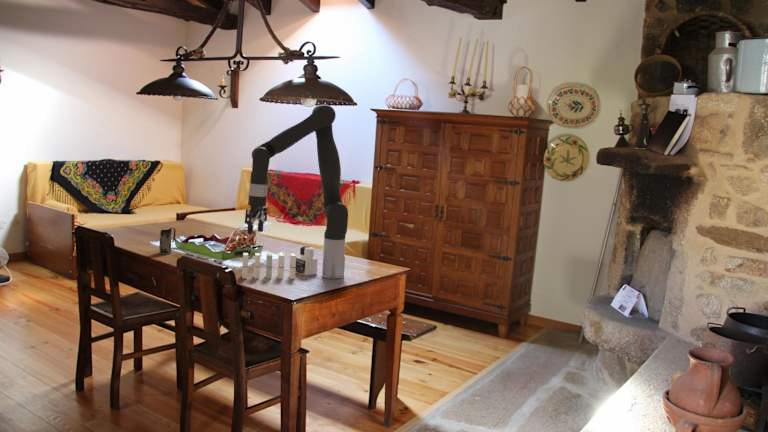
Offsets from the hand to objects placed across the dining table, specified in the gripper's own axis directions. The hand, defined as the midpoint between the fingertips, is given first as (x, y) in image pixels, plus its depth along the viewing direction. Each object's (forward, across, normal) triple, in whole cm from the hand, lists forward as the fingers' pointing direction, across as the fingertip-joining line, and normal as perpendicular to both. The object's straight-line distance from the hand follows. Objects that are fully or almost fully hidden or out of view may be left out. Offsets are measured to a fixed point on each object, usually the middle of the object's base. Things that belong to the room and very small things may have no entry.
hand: (255, 232), depth 271 cm
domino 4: (+19, +6, -10) cm, 22 cm away
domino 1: (+19, -2, +2) cm, 19 cm away
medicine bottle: (+19, +19, -16) cm, 31 cm away
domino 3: (+19, +3, -6) cm, 20 cm away
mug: (+20, +20, +58) cm, 64 cm away
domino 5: (+19, +9, -14) cm, 25 cm away
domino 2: (+19, +1, -2) cm, 19 cm away
